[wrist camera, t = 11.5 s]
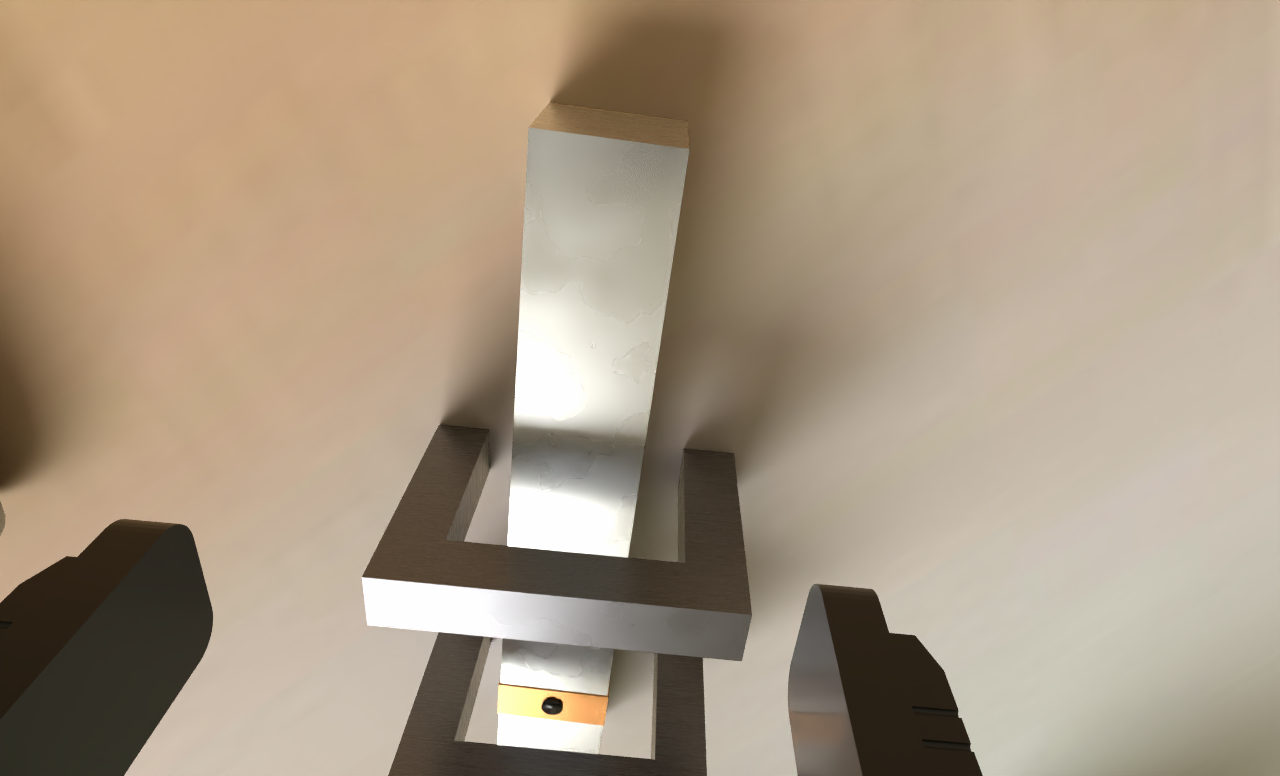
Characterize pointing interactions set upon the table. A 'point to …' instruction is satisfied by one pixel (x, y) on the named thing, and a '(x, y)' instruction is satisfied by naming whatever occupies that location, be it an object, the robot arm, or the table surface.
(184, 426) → the table surface
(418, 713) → the collar
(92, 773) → the robot arm
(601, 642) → the collar
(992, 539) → the table surface
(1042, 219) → the table surface
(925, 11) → the table surface
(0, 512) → the ceramic mug
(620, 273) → the orange banded bar
